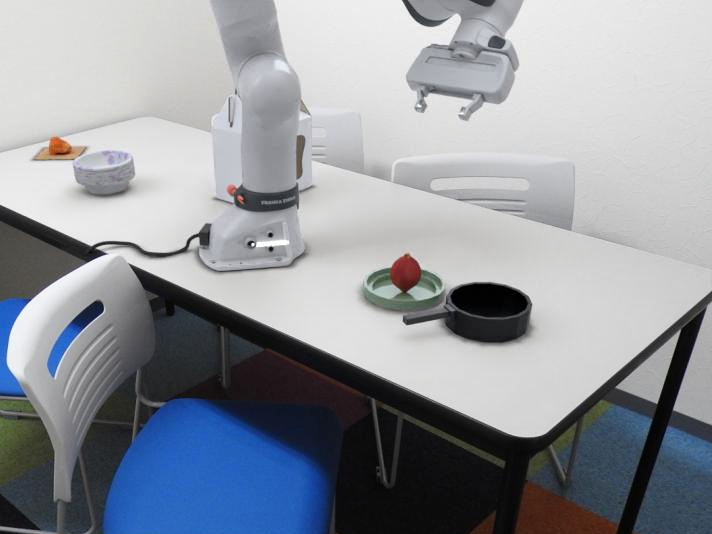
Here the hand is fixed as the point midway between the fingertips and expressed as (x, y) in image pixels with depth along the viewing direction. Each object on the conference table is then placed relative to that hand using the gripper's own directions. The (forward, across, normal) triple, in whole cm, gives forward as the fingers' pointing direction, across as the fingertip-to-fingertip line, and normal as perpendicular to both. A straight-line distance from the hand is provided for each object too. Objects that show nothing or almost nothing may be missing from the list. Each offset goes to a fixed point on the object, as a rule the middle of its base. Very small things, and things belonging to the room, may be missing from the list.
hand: (440, 114), depth 142 cm
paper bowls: (+30, -89, +12) cm, 95 cm away
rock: (+22, -125, +19) cm, 129 cm away
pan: (+34, +20, +7) cm, 40 cm away
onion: (+31, +5, +10) cm, 33 cm away
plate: (+31, +4, +10) cm, 33 cm away
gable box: (+13, -55, +28) cm, 63 cm away
